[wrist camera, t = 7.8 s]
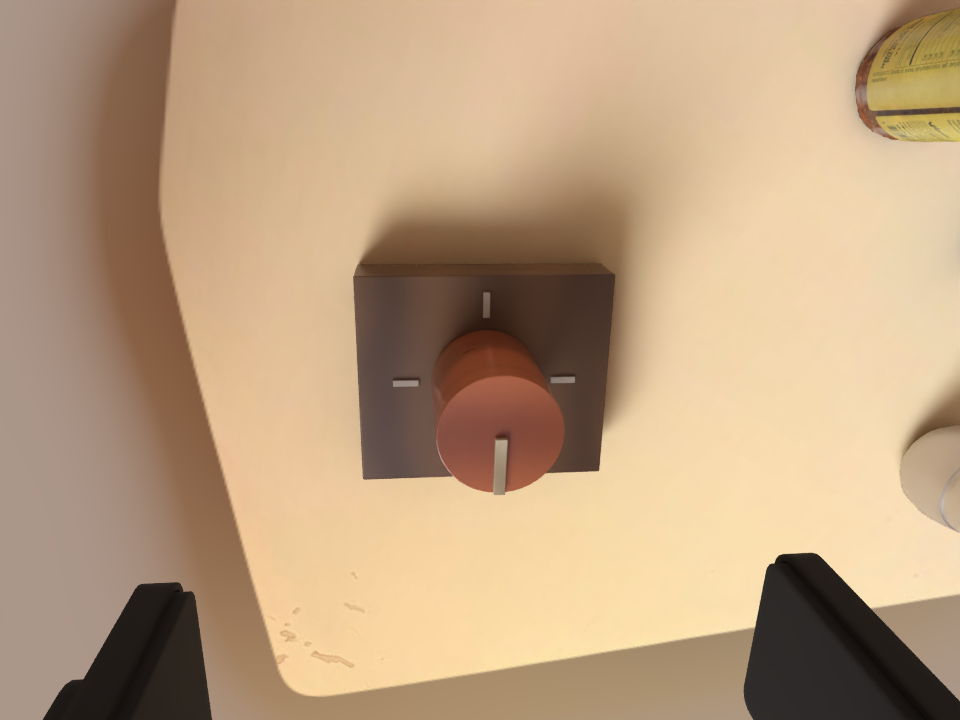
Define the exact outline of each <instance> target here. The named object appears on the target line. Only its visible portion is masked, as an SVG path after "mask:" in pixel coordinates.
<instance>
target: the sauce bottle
mask: <svg viewBox="0 0 960 720" xmlns="http://www.w3.org/2000/svg"><path fill="white" fill-rule="evenodd" d="M855 91H856V103H857V106H858V112H859V116H860V118H861V119H862V121H863V122H864V124H865V125H866V126H867V127H868V128H870V129H871V130H872V131H873V132H876V133H878V134H880V135H882V136H884V137H887V138H889V139H892V140H902V141H912V142H943V141H949V142H960V8H957V9H953V10H949V11H945V12H941V13H937V14H933V15H929V16H925V17H922V18H918V19H916V20H914V21H911V22H909V23H907V24H905V25H904V26H901V27H898V28H896V29H893V30H891V31H890V32H888V33H887V34H886V35H885V36H884V37H883V38H882V39H881V40H880V41H879V42H877V44H876V45H875V46H874V47H873V48H872V50H871V51H870V52H869V54H868V55H867V56H866V57H865V59H864V62H863V63H862V65H861V66H860V68H859V70H858V73H857V75H856V88H855Z"/></svg>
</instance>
